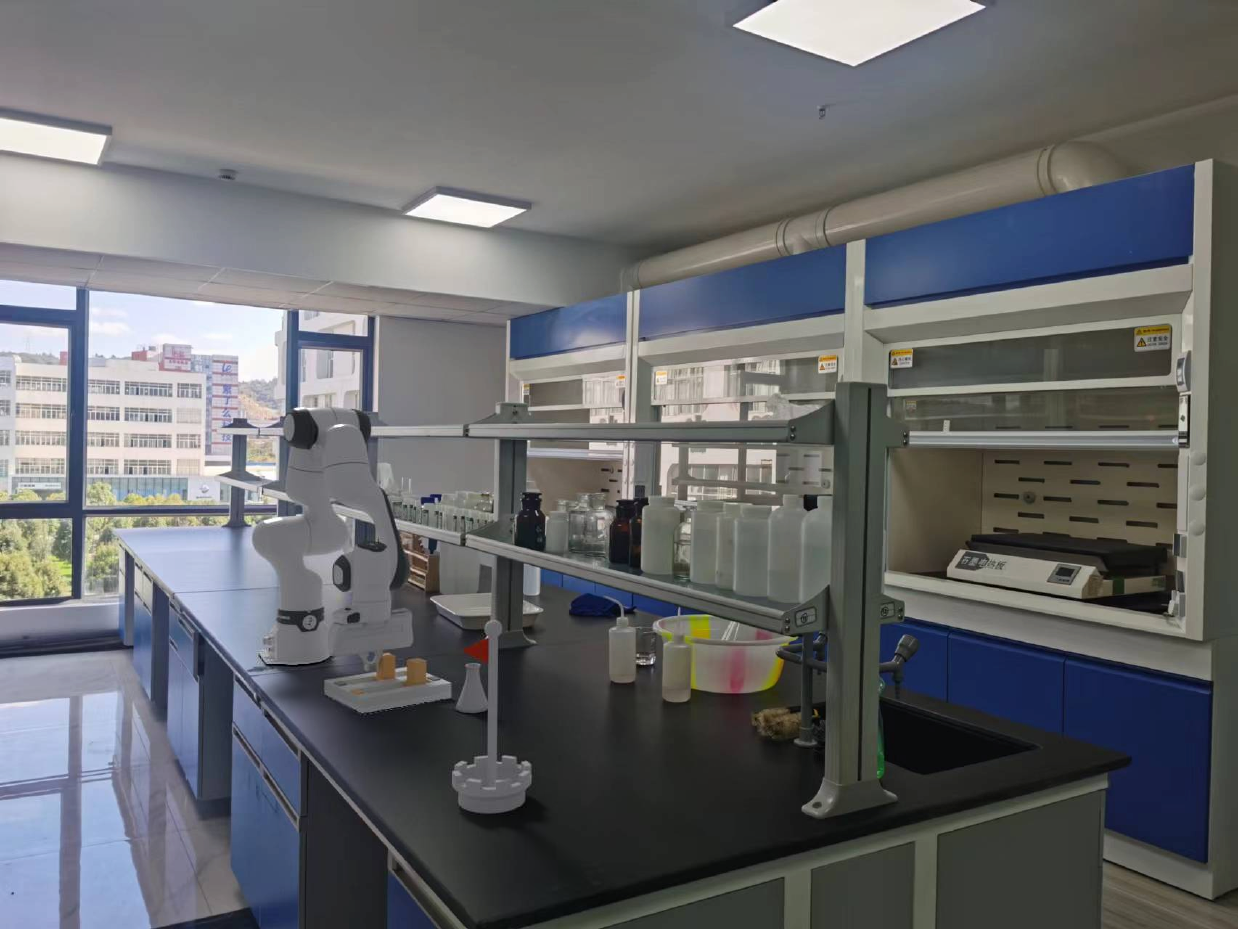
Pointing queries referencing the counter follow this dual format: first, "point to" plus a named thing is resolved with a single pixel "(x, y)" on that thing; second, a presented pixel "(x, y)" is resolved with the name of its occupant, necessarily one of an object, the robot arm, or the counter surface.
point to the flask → (472, 692)
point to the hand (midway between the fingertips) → (371, 670)
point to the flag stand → (491, 750)
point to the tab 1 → (386, 667)
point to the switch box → (385, 691)
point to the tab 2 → (416, 672)
